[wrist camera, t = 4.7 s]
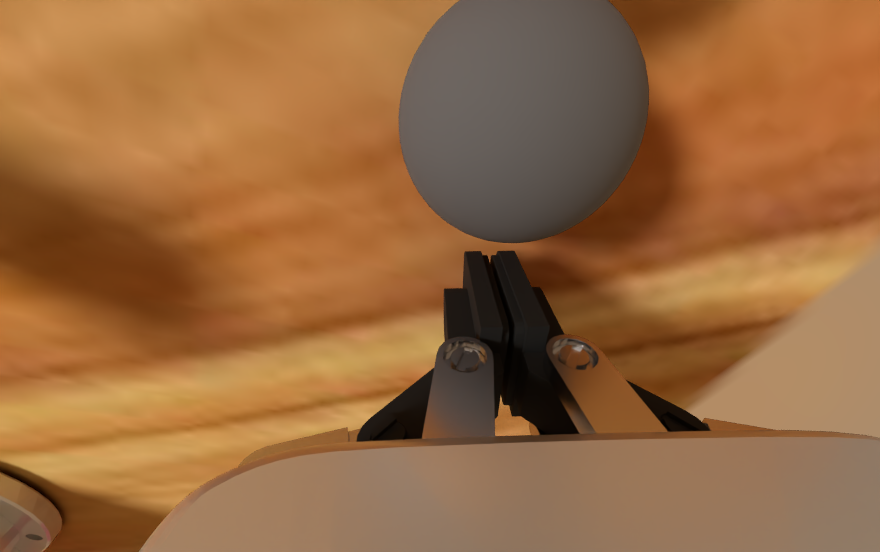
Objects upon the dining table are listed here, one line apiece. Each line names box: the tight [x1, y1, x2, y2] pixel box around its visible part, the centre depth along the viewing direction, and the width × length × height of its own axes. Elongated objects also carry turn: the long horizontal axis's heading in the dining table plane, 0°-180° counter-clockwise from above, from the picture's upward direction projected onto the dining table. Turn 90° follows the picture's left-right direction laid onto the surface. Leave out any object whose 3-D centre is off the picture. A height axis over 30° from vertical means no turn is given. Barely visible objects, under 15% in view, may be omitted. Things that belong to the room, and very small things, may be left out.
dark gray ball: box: [399, 0, 649, 243], centre depth 8 cm, size 6×6×6 cm
